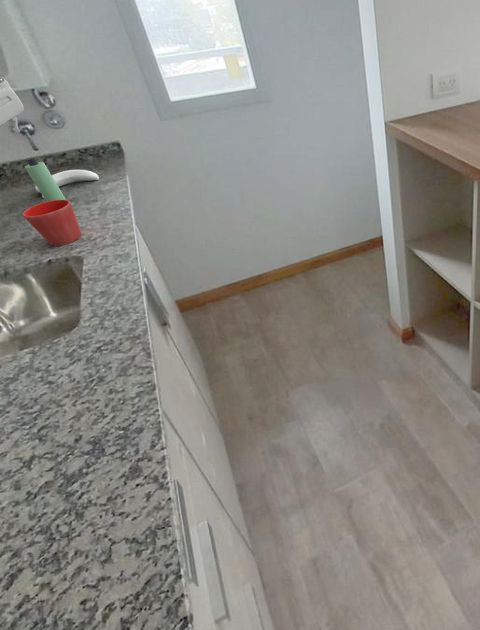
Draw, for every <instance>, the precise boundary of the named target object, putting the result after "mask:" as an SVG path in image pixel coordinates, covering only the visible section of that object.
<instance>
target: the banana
mask: <svg viewBox="0 0 480 630" xmlns="http://www.w3.org/2000/svg"><path fill="white" fill-rule="evenodd" d="M51 175H52V177H53V179H54V180H55V182H56V184H57V185H58V187H59V188H60V187H62V186H65V185H68V184H71V183H74V182H81V181H82V182H83V181H86V182H91V181H92V182H93V181H99V180H100V177H99V175H98V174H97V173H95V172H94V171H90V170H87V169H68V170H64V171H60V172H57V173H54V174H51ZM34 189H35V192H37V193H40V194H41V192H40V191H39V189H38V187H37V186H36V185H35V187H34ZM41 197H42V198H43V199H45V198H44V197H43V195H42V194H41Z"/></svg>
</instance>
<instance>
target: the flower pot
mask: <svg viewBox="0 0 480 630" xmlns="http://www.w3.org/2000/svg"><path fill="white" fill-rule="evenodd" d="M22 217H23V218H24V219H25V220H26V221H27V222H28V223H29V224H30V226H32V227H33V228H34V229H35V230H36V232H37V233H39V234H40V236H42V238H43V239H45V240H46V242H48V243H49V244H50V245H51V246H54V247H58V246H65V245H68V244H72V243H73V242H76V241H77V240H79V239H80V238H81V237H82V235H83V234H82V231H81V228H80V225H79V222H78V219H77V216H76V213H75V211H74V208H73V206H72V203H71V201H70V200H68V199H66V200H53V201H47V202H46V201H44V202H40V203H37V204H35V205H33V206H32V205H31V206H30V207H28V208H27V209H25V210H24V211H23V212H22Z"/></svg>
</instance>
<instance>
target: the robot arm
mask: <svg viewBox="0 0 480 630" xmlns="http://www.w3.org/2000/svg"><path fill="white" fill-rule="evenodd" d="M24 110H25V106H24V104H23V102H22V101H21V99H20V98H19V96H18V95H17V94H16V92H15V91H14V90H13V89H12V87H11V85H10V84H9V81H7V80H6V79H4V78H0V126H2V125H4V124H5V123H7V122H8V125H9V126H7V130H9V132H10V133H11V134H15V135H17V134H19V133H20V132H21V130H20V128H19V125H18V123H19V122H18V121H19V120H18V117H17V116H18V115H20V114H21V113H23V112H24Z"/></svg>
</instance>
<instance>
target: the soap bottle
mask: <svg viewBox="0 0 480 630" xmlns="http://www.w3.org/2000/svg"><path fill="white" fill-rule="evenodd" d="M25 160H26V162H27V164H26V165H24V168H25V170H26V173H28V175H29V176H30V178H31V179H32V181H33V183H34V184H35V186H37V187H38V189H39V191H40V192H41V193H40V194H41V196H42V195H43V197H44V198H43V197H42V198H43V199H44V200H45V202H47V201H53V200H67V199H66V197H65V195H64V194H63V192H62V191H61V188H60V187H58V185H57V184H56V182H55V180H54V179H53V177H52V175H53V174H51V172H50V170H49V169H48V167H47V166H46V164H45V162H44V161H38V160H37V159H36V157H35V156H32V157H27V158H26V159H25Z"/></svg>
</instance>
